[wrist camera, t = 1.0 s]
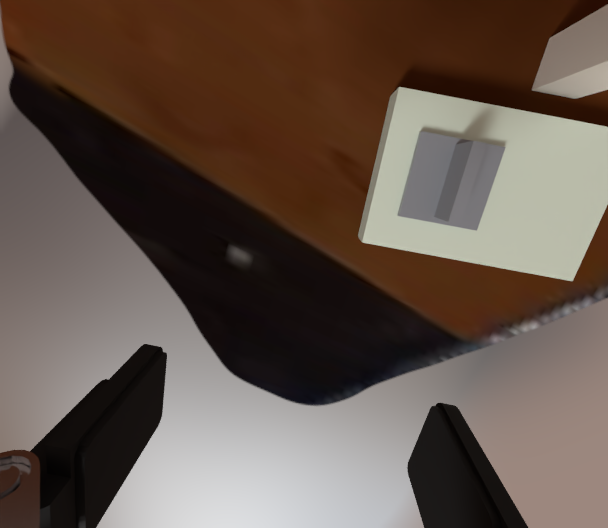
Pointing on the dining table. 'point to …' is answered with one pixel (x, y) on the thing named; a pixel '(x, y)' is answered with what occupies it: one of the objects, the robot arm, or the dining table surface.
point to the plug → (576, 59)
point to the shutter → (450, 180)
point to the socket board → (496, 185)
